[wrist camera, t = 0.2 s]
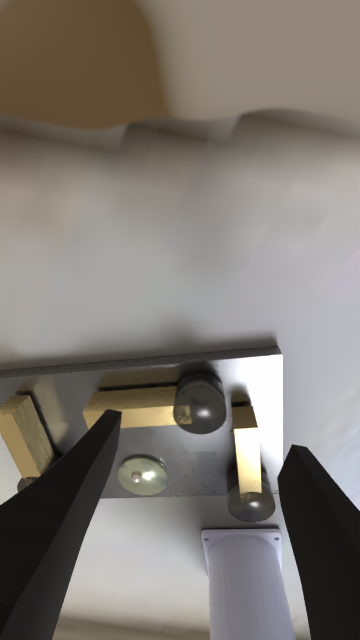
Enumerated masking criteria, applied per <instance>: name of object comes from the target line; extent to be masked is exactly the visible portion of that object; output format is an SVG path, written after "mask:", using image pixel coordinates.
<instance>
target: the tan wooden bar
mask: <svg viewBox="0 0 360 640" xmlns="http://www.w3.org/2000/svg"><path fill="white" fill-rule="evenodd" d="M231 410H232V421H233V432H234V443H235V454H236V465H237V469H235V470H233V471H232V472H231V473H230V474H229V475H228V476H227V479H226V485H227V496H228V508H229V511H230V513H231V514H232V515H233V516H234V517H235V518H237V519H239V520H241V521H245V522H260V521H263V520H266V519H268V518H269V517H270V516H272V515H273V513H274V511H275V502H274V498H273V494H272V489H271V485H270V481H269V477H268V475H267V474H266V473H265V472H264V471H262V470H261V469H260V449H259V428H258V424H257V420H256V416H255V412H254V408H253V406H246V407H231Z"/></svg>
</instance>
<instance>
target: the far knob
mask: <svg viewBox="0 0 360 640" xmlns="http://www.w3.org/2000/svg"><path fill="white" fill-rule="evenodd" d="M0 434H1V436H2V438H3V439H4V441H5V443H6V445H7V447H8V449H9V451H10V453H11V455H12V457H13V459H14V461H15V463H16V465H17V467H18V469H19V471H20V473H21V475H22V478H21V480H20V481H19V483H18V486H17V489H18V492H20V491H21V490H22V489H24V488H25V487H26V486H28V485H29V484H30V483H32V482H33V481H34V480H35V479H37V478H38V477H39V476H40V475H41V474H43V473H44V472H45V471H46V470H47V469H49V468H50V467H51V466H52V465H53V464H54V463H56V462H57V461H58V460H59V459H60V458H61V457H59V456H56V455H55V454H54V452H53V449H52V447H51V445H50V442H49V440H48V438H47V435H46V433H45V430H44V428H43V426H42V423H41V421H40V419H39V416H38V414H37V412H36V409H35V407H34V404H33V402H32V400H31V397H30V395H22V396H11V397H10V398H9V399H8V400H7V401H6V402H5V403H4V404H3V405H2V406H1V407H0Z"/></svg>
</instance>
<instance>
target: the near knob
mask: <svg viewBox="0 0 360 640" xmlns="http://www.w3.org/2000/svg"><path fill="white" fill-rule="evenodd" d="M107 409H111V410H116V411H121V412H122V418H121V426H120V428H130V427H147V426H164V425H178V426H179V427H180V428H181V429H183V430H185V431H186V432H189V433H192V434H198V435H203V434H209V433H212V432H214V431H216V430H218V429H219V428H220V427H221V426H222V425H223V424H224V422H225V420H226V417H227V411H226V402H225V393H224V388H223V386H222V384H221V382H220V381H219V380H218V379H217V378H215V377H214V376H212V375H210V374H207V373H192V374H189V375H187V376H185V377H183V378H182V379H181V380H180V381H179V382H178V384H177V386H169V387H155V388H142V389H129V390H116V391H103V392H93V394H92V396H91V398H90V400H89V401H88V403H87V405H86V407H85V409H84V410H83V415H84V418H85V421H86V424H87V427H88V430H89V429H90V428H91V427H92V426H93V425H94V423H95V422H96V421H97V420H98V419H99V418H100V416H101V415H102V414H103V413H104V411H105V410H107Z"/></svg>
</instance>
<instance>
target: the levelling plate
mask: <svg viewBox="0 0 360 640" xmlns="http://www.w3.org/2000/svg"><path fill="white" fill-rule="evenodd" d="M192 373H207V374H210V375H212V376H214V377H215V378H217V379H218V380H219V381H220V382H221V384H222V386H223V388H224V393H225V402H226V411H227V417H226V420H225V422H224V424H223V425H222V426H221V427H220V428H219V429H218V430H216V431H214V432H212V433H209V434H203V435H198V434H192V433H189V432H186V431H185V430H183V429H181V428H180V427H179V426H178V425H164V426H147V427H130V428H120V434H119V442H118V449H117V452H116V455H115V459H114V462H113V465H112V469H111V472H110V475H109V477H108V480H107V482H106V485H105V487H104V489H103V492H102V494H101V497H100V499H102V498H137V497H172V496H207V495H227V485H226V479H227V476H228V475H229V474H230V473H231V472H232V471H233V470H235V469H237V465H236V454H235V443H234V432H233V421H232V410H231V407H246V406H253V408H254V412H255V416H256V420H257V424H258V428H259V449H260V469H261V470H262V471H264V472H265V473H266V474H267V475H268V477H269V481H270V485H271V489H272V494H277V493H279V490H278V482H277V477H278V475H279V472H280V470H281V468H282V466H283V367H282V353H281V351H280V349H279V347H278V346H275V347H264V348H253V349H241V350H230V351H219V352H208V353H196V354H185V355H174V356H163V357H152V358H140V359H129V360H118V361H107V362H95V363H84V364H73V365H62V366H50V367H39V368H28V369H17V370H5V371H0V407H1V406H2V405H3V404H4V403H5V402H6V401H7V400H8V399H9V398H10V397H11V396H22V395H30V397H31V400H32V402H33V404H34V407H35V409H36V412H37V414H38V416H39V419H40V421H41V423H42V426H43V428H44V430H45V433H46V435H47V438H48V440H49V442H50V445H51V447H52V449H53V452H54V454H55V455H56V456H59V457H62V456H63V455H64V454H65V453H66V452H67V451H68V450H70V449H71V448H72V447H73V446H74V445H75V444H76V443H77V442H78V441H79V440H80V438H81V437H82V436H83V435H84V434H85V433H86V432H87V431H88V427H87V424H86V421H85V418H84V415H83V410H84V409H85V407H86V405H87V403H88V401H89V400H90V398H91V396H92V394H93V392H103V391H116V390H129V389H142V388H155V387H169V386H177V384H178V382H179V381H180V380H181V379H182V378H183V377H185V376H187V375H189V374H192Z"/></svg>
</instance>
